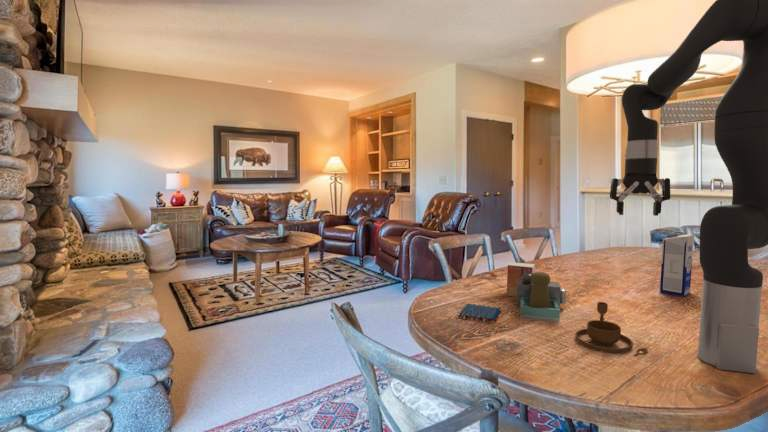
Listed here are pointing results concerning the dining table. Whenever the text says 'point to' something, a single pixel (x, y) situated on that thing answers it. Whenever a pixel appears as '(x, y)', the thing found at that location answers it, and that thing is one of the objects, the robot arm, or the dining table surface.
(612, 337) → the place setting
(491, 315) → the woven mat
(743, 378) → the dining table surface
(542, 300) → the cork
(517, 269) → the small box
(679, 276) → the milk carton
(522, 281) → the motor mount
